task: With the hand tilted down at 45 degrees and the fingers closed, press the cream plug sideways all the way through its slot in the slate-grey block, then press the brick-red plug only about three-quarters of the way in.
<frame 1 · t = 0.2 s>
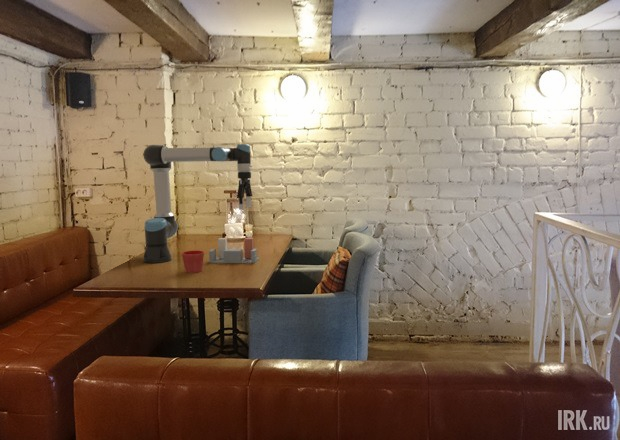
hand: (245, 208, 290), 28 cm above the table, tool pointing down, fingers open, 13 cm apart
cream plug: (222, 248, 283), point 6 cm above the table, slide at 0.0 cm
red plug: (249, 248, 281), point 6 cm above the table, slide at 0.0 cm
slot block: (234, 260, 279), on the table
flower pot: (193, 271, 253), on the table
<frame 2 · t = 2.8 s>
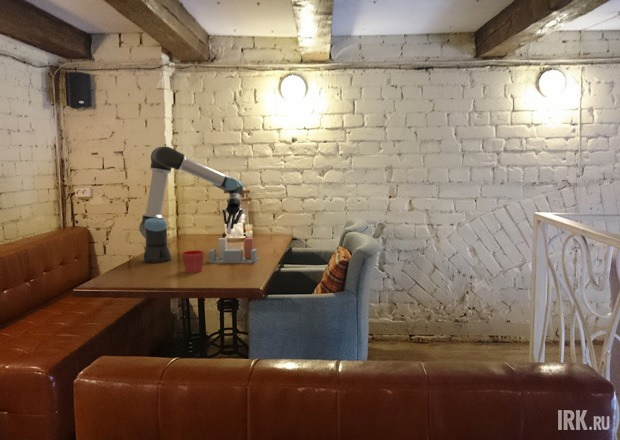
hand: (228, 232, 296), 13 cm above the table, tool tilted 45°, fingers closed
nothing on the table moved.
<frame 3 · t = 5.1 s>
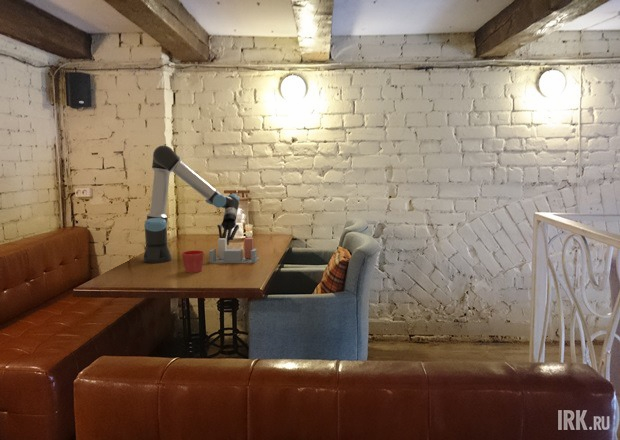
hand: (224, 249, 285), 5 cm above the table, tool tilted 45°, fingers closed
cream plug: (222, 248, 282), point 6 cm above the table, slide at 0.8 cm, touching gripper
everything else where it was.
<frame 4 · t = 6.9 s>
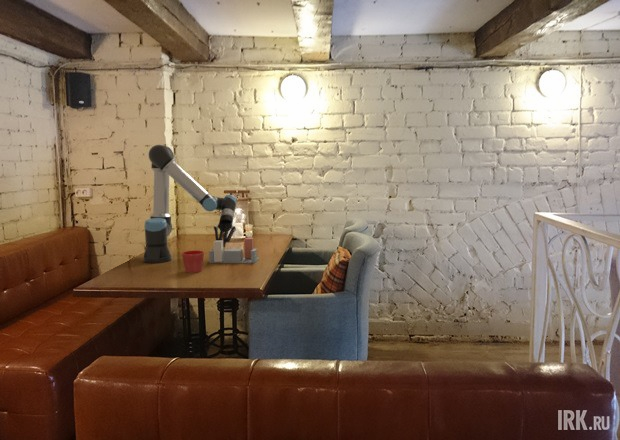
hand: (220, 251, 277), 6 cm above the table, tool tilted 45°, fingers closed
cream plug: (218, 251, 274), point 6 cm above the table, slide at 8.9 cm, touching gripper
everything else where it was.
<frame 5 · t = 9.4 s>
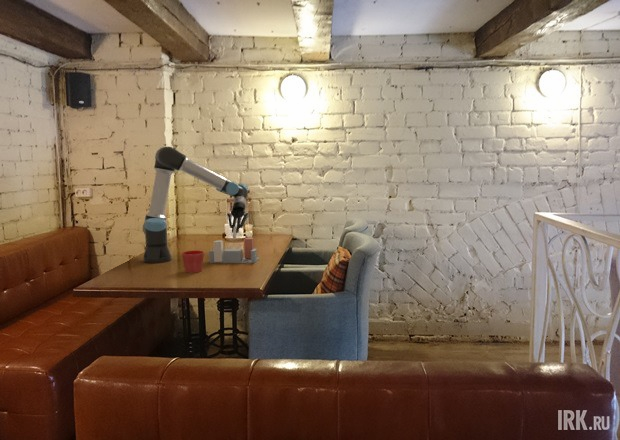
hand: (234, 236, 291), 12 cm above the table, tool tilted 45°, fingers closed
cream plug: (218, 251, 274), point 6 cm above the table, slide at 9.0 cm
everything else where it was.
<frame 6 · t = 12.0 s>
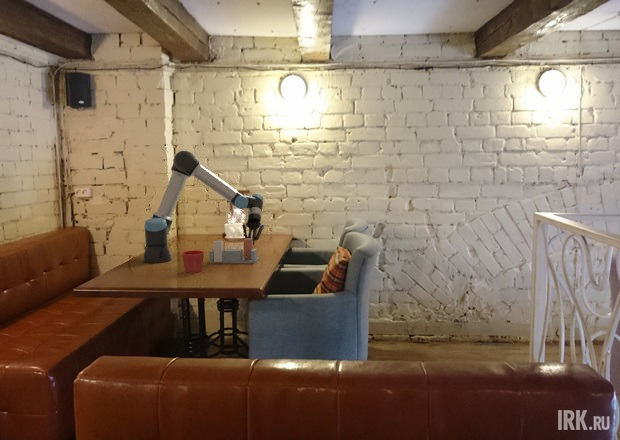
hand: (249, 249, 283), 5 cm above the table, tool tilted 45°, fingers closed
red plug: (248, 248, 280), point 6 cm above the table, slide at 1.6 cm, touching gripper
everything else where it was.
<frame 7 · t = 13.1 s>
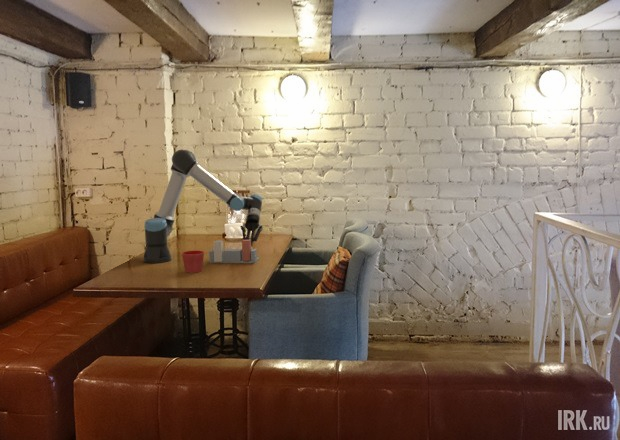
hand: (248, 250, 279), 5 cm above the table, tool tilted 45°, fingers closed
red plug: (246, 250, 275), point 6 cm above the table, slide at 6.3 cm, touching gripper
everything else where it was.
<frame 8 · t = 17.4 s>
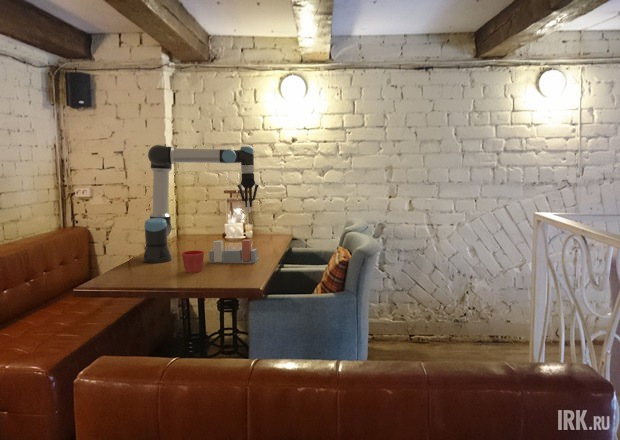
hand: (248, 212, 301), 24 cm above the table, tool pointing down, fingers closed
red plug: (246, 250, 275), point 6 cm above the table, slide at 6.4 cm
everything else where it was.
at the end: cream plug slide at 9.0 cm; red plug slide at 6.4 cm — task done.
